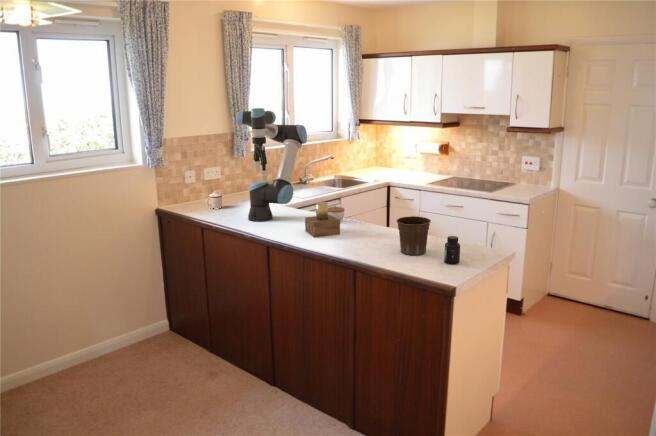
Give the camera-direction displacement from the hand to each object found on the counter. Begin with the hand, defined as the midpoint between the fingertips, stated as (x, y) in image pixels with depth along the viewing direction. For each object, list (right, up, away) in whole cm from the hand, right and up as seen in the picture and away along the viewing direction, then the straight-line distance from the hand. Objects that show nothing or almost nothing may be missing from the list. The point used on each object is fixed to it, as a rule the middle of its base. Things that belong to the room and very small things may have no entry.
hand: (260, 174), depth 303 cm
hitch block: (+35, -33, -3) cm, 48 cm away
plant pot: (+79, -41, -41) cm, 98 cm away
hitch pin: (+35, -32, -3) cm, 47 cm away
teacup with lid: (-40, -18, +63) cm, 77 cm away
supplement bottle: (+95, -45, -57) cm, 119 cm away
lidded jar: (+43, -27, +23) cm, 55 cm away
